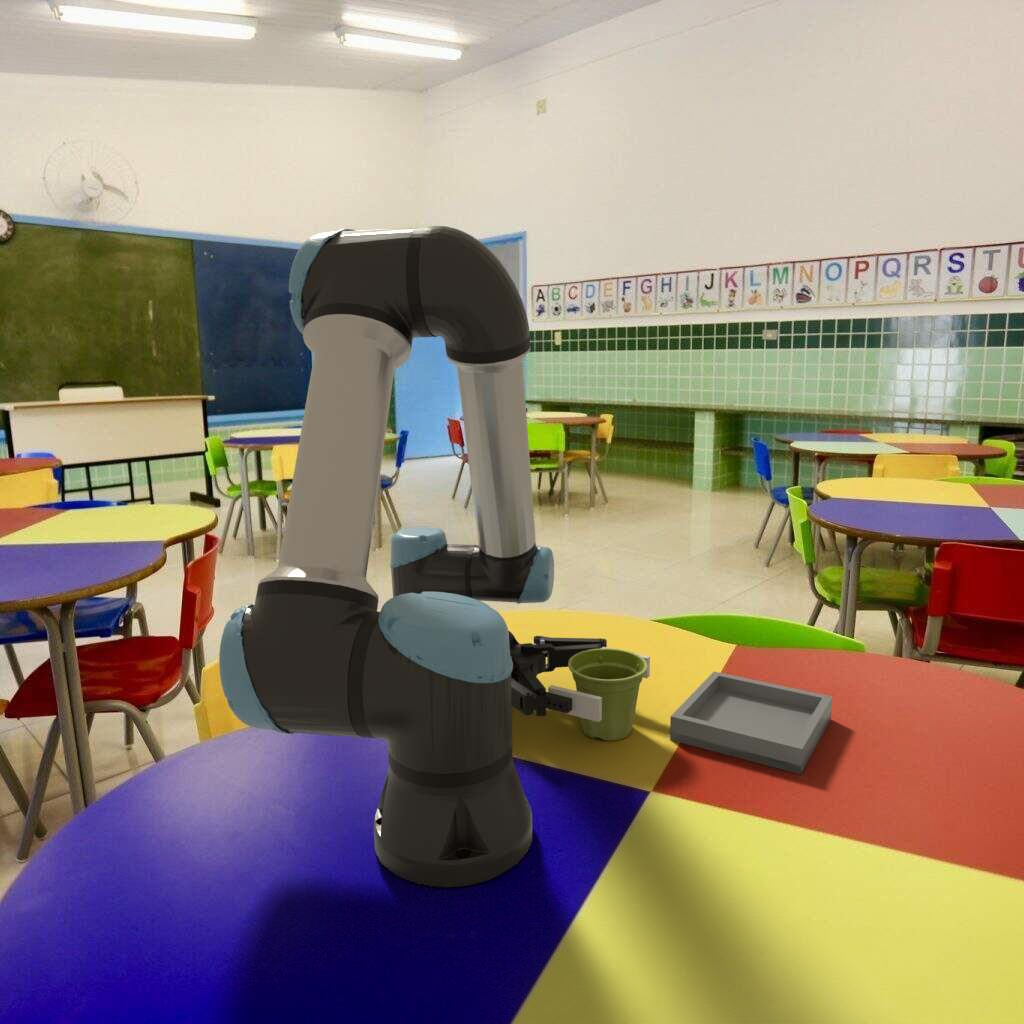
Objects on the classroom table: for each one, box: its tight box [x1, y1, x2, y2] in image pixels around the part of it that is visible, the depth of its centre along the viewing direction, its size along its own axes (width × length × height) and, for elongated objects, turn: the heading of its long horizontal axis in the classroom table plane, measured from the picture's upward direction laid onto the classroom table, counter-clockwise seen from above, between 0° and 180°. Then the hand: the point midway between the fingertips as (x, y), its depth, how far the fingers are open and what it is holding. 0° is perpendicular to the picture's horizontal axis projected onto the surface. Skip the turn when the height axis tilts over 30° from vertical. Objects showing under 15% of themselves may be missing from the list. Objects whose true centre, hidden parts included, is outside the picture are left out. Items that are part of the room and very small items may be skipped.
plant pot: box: [567, 647, 648, 742], centre depth 97 cm, size 9×9×9 cm
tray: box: [669, 671, 833, 775], centre depth 97 cm, size 15×15×3 cm
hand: (626, 687), depth 96 cm, fingers open, 13 cm apart
